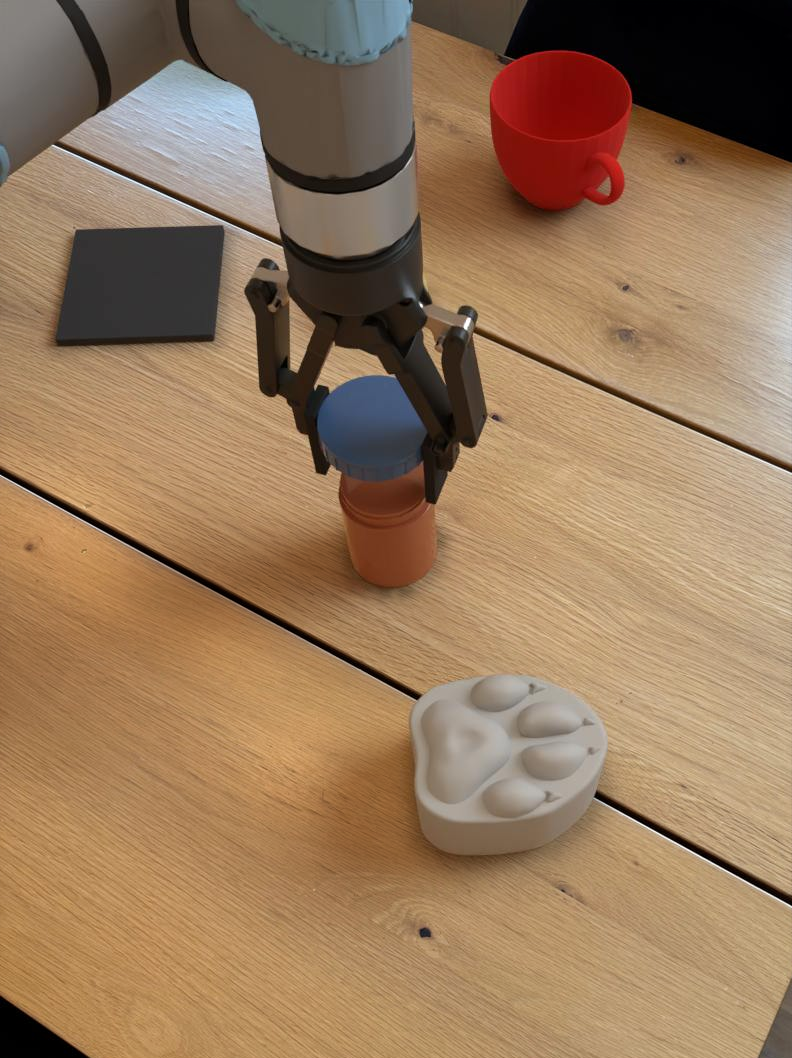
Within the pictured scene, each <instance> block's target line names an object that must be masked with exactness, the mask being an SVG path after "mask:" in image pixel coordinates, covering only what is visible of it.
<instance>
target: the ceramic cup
mask: <svg viewBox="0 0 792 1058" xmlns="http://www.w3.org/2000/svg"><path fill="white" fill-rule="evenodd" d="M632 96H633V95H632V90H631V88H630V85H629V83H628V81H627V79H626V78H625V77H624V75H623V74H622V73H621V71H620V70H618V69H617V68H616V67H614V66H613V65H611V64H610V63H608V62H607V61H604V60H602V59H601V58H598V57H595V56H593V55H591V54H587V53H582V52H578V51H570V50H546V51H540V52H539V51H538V52H534V53H530V54H527V55H524V56H521V57H519V58H517V59H515V60H513V61H511V62H510V63H508V64H507V65H505V66H504V67H503V68H502V69H501V70H500V72H499V73H497V75H496V76H495V78H494V80H493V81H492V83H491V86H490V91H489V120H490V133H491V137H492V138H491V139H492V144H493V149H494V153H495V155H496V156H495V157H496V159H497V162H498V164H499V167H500V169H501V171H502V173H503V175H504V176H505V178H506V179H507V181H508V183H509V184H510V185H511V186H512V187H513V188H514V190H515V191H516V192H517V193H518V194H520V196H522V198H524V199H525V200H526V201H527V202H528V203H530V204H531V205H533V206H535V207H537V208H539V209H543V210H547V211H560V210H561V211H562V210H567V209H571V208H572V207H573V208H574V207H575V206H576V205H578V204H579V203H581V202H582V201H584V200H585V199H586V200H587V201H590V202H591V203H594V204H595V205H598V206H610V205H612V204H614V203H616V202H617V201H618V200H619V199H620V198H621V197H622V195H623V193H624V189H625V184H626V183H625V174H624V171H623V168H622V166H621V164H620V163H619V161H618V159H619V157H620V154H621V151H622V148H623V147H624V142H625V138H626V135H627V130H628V126H629V122H630V116H631V111H632V110H631V109H632V104H633V97H632ZM607 178H609V181H610V192H609V194H608V195H607V194H604V193H602V192H601V191H599V190H598V189H599V188H600V187H601V186H602V184H603V183H604V182H605V181H606V180H607Z"/></svg>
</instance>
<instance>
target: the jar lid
mask: <svg viewBox="0 0 792 1058" xmlns="http://www.w3.org/2000/svg"><path fill="white" fill-rule="evenodd" d="M317 432H318V437H319V443H320V448H321V451H323V453H324V455H325V457H326V460H327V462H328V461H329V463H330V464H331V466H332V467H333V468H334V469H335V471H336V472H340V474H341V473H343V474H345V475H347V476H348V477H349V478H350V477H351V478H354V479H357V480H362V481H370V482H380V481H387V480H392V479H393V480H394V479H395V478H398V477H401V476H403V475H405V474H408V473H409V472H411V471H412V470H413V469H415V468H416V467H417V466H420V463H421V462H422V461H423V454H422V443H423V441H424V439H425V436H426V434H427V430H426V428H425V426H424V425H423V423H422V421H421V420H420V418H419V416H418V414H417V413H416V411H415V409H414V408H413V406H412V404H411V402H410V401H409V399H408V397H407V396H406V394H405V392H404V390H403V389H402V387H401V385H400V384H399V382H398V380H397V378H396V377H395V376H391V375H382V374H372V375H364V376H358V377H355V378H353V379H350V380H347V381H345V382H343V383H341V384H340V385H338V386H337V387H335V388H334V389H333V390H331V391H330V394H329V395H328V396H327V397H326V399H325V400H324V402H323V404H322V406H321V408H320V410H319V413H318V417H317Z"/></svg>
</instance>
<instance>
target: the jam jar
mask: <svg viewBox="0 0 792 1058" xmlns="http://www.w3.org/2000/svg"><path fill="white" fill-rule="evenodd" d="M337 496H338V502H339V507H340V512H341V517H342V522H343V528H344V532H345V537H346V542H347V547H348V552H349V557H350V562H351V564H352V566H353V568H354V569H355V571H356V572H357V573H358V575H359V576H361V578H363V579H364V580H365V581H367V582H368V583H371V584H373V585H376V586H379V587H383V588H400V587H405V586H408V585H411V584H413V583H416V582H418V581H420V580H421V579H422V578H423V577H424V576H426V575H427V574H428V572H430V570H431V569H432V568H433V566H434V564H435V562H436V559H437V555H438V539H437V524H436V507H435V506H436V505H434V504H431V503H427V502H426V499H425V484H424V469H423V461H422V462H421V463H420V466H417V467H416V468H415V469H413V470H412V471H411V472H409V473H408V474H405V475H403V476H401V477H398V478H395V479H394V480H393V479H392V480H387V481H380V482H370V481H362V480H357V479H354V478H351V477H350V478H349V477H348V476H347V475H345V474H343V473H341V472H340V478H339V486H338V493H337Z"/></svg>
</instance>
